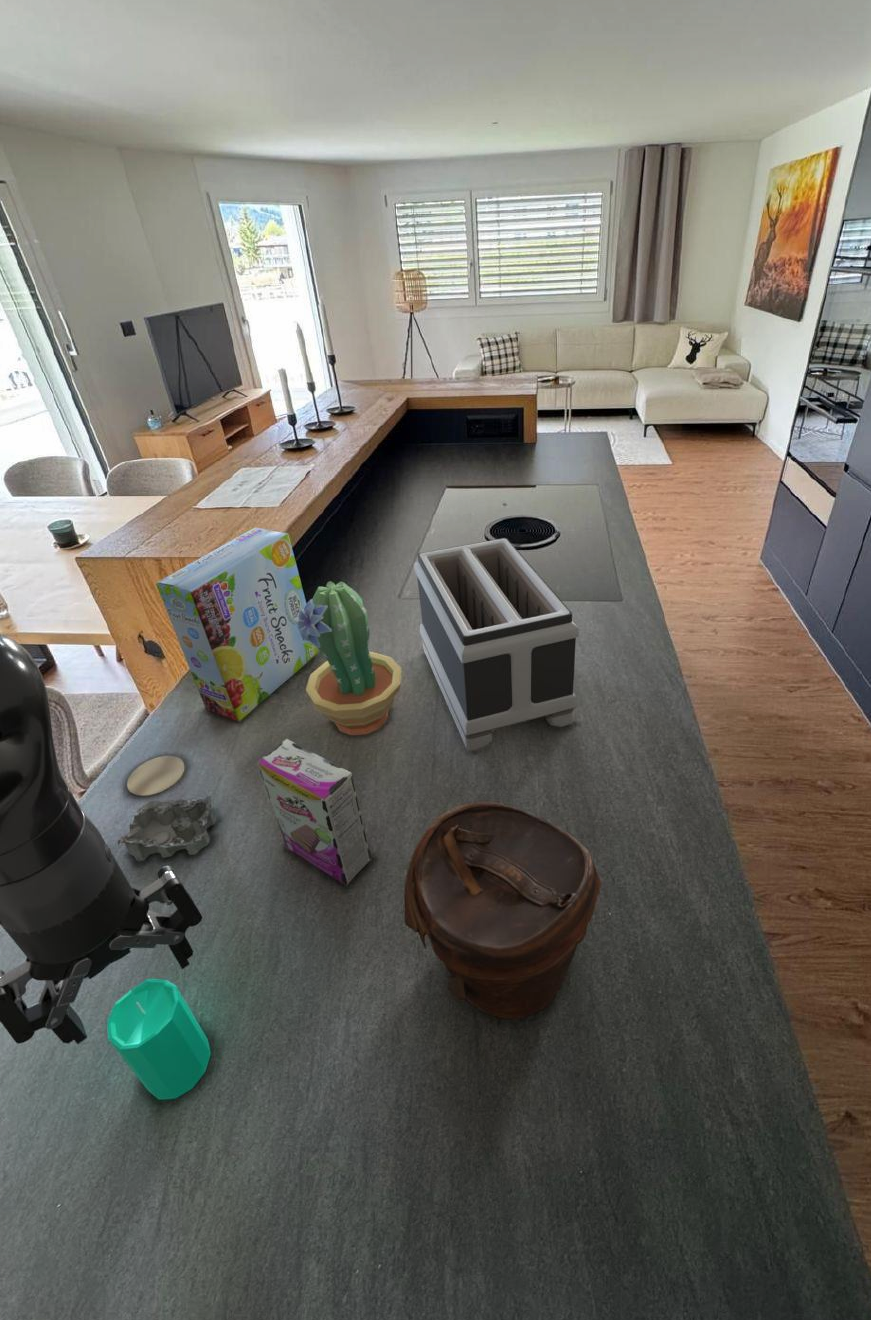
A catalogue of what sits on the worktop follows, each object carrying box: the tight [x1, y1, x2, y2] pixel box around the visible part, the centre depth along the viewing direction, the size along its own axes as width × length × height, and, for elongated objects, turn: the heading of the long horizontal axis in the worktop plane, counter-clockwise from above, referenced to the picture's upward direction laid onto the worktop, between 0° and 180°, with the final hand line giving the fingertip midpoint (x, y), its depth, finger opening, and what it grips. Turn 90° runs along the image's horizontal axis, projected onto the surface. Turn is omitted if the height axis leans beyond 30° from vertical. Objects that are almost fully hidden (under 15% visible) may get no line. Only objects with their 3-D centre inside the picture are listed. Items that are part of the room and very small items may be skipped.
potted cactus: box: [297, 581, 403, 736], centre depth 97 cm, size 15×15×25 cm
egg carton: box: [117, 795, 217, 862], centre depth 83 cm, size 11×8×4 cm
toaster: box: [413, 537, 579, 751], centre depth 105 cm, size 18×34×21 cm, turn 18°
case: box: [403, 801, 602, 1019], centre depth 64 cm, size 18×20×18 cm
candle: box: [106, 978, 212, 1101], centre depth 58 cm, size 6×6×12 cm
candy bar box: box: [257, 738, 372, 886], centre depth 76 cm, size 11×5×16 cm, turn 58°
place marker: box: [126, 755, 185, 797], centre depth 94 cm, size 8×8×1 cm
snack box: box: [155, 527, 320, 723], centre depth 106 cm, size 22×9×26 cm, turn 154°
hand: (133, 994), depth 54 cm, fingers open, 8 cm apart
